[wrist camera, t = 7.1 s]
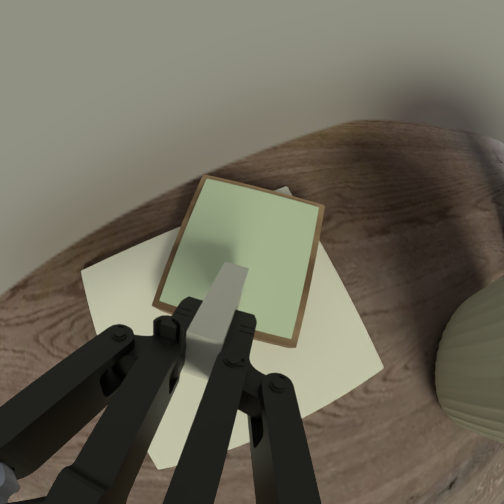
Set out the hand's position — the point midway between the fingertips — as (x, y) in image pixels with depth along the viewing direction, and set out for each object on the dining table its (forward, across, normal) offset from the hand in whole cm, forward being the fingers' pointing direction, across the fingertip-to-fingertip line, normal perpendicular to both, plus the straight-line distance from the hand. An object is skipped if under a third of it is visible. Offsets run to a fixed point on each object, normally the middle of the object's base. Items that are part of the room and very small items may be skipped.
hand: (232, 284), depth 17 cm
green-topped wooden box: (0, 0, -4) cm, 4 cm away
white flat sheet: (+2, 0, -5) cm, 5 cm away
